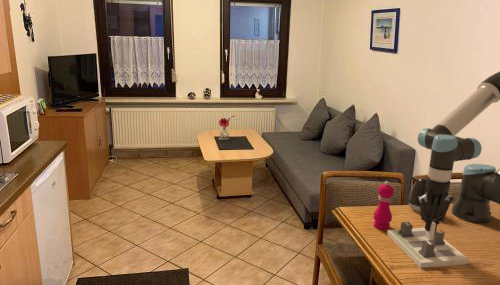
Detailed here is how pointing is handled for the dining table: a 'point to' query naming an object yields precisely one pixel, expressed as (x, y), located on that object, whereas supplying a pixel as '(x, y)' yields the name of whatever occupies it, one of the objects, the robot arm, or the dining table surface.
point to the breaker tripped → (438, 237)
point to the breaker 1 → (405, 229)
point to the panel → (413, 244)
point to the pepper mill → (383, 207)
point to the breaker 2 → (427, 249)
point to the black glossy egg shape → (417, 193)
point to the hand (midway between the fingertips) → (429, 238)
